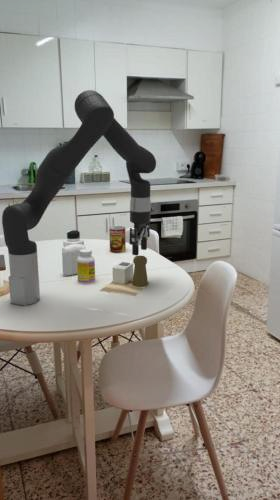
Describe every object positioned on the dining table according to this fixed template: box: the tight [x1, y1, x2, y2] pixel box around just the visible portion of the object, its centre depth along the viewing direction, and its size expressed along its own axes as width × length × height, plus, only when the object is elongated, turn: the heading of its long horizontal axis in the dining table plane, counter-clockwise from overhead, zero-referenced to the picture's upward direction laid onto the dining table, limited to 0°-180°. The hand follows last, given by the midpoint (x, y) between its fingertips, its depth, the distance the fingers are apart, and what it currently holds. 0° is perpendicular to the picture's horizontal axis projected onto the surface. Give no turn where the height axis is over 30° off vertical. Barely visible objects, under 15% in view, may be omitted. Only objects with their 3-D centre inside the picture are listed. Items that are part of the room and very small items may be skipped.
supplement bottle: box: [77, 248, 96, 285], centre depth 157 cm, size 7×7×13 cm
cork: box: [132, 255, 149, 288], centre depth 153 cm, size 6×6×11 cm
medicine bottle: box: [62, 229, 85, 249], centre depth 194 cm, size 7×7×12 cm
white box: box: [112, 261, 134, 284], centre depth 158 cm, size 8×5×6 cm, turn 157°
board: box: [99, 279, 153, 297], centre depth 153 cm, size 17×14×1 cm
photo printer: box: [61, 244, 87, 277], centre depth 167 cm, size 10×4×12 cm, turn 123°
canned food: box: [109, 225, 127, 254], centre depth 202 cm, size 8×8×12 cm
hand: (139, 252), depth 153 cm, fingers open, 8 cm apart
